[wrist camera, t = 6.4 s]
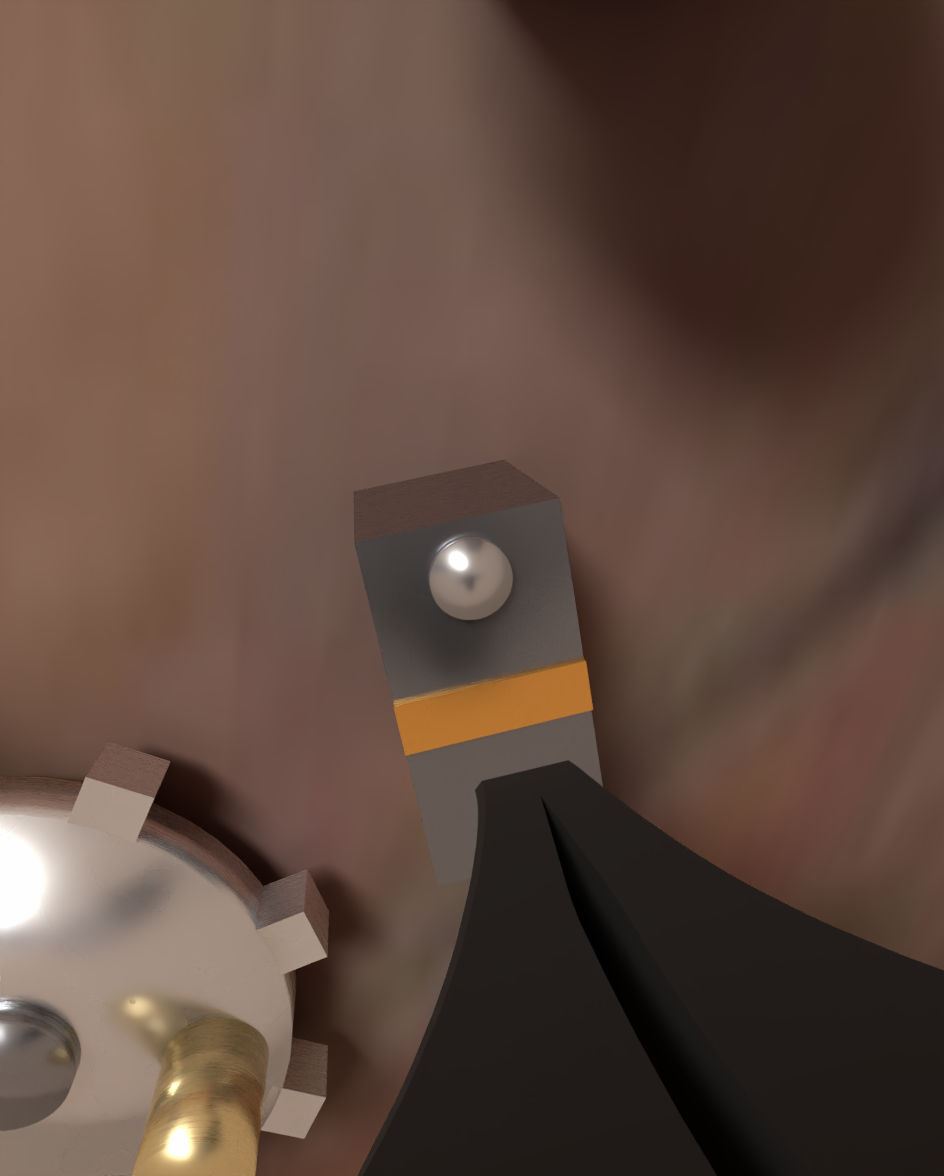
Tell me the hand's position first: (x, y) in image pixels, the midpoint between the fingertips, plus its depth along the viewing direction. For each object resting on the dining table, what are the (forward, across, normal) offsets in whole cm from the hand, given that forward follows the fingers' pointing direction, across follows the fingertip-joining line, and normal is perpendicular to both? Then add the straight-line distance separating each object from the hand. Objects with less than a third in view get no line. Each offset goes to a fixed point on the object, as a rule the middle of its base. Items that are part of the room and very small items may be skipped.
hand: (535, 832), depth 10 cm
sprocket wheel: (+8, +12, +7) cm, 16 cm away
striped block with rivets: (+9, 0, 0) cm, 9 cm away
